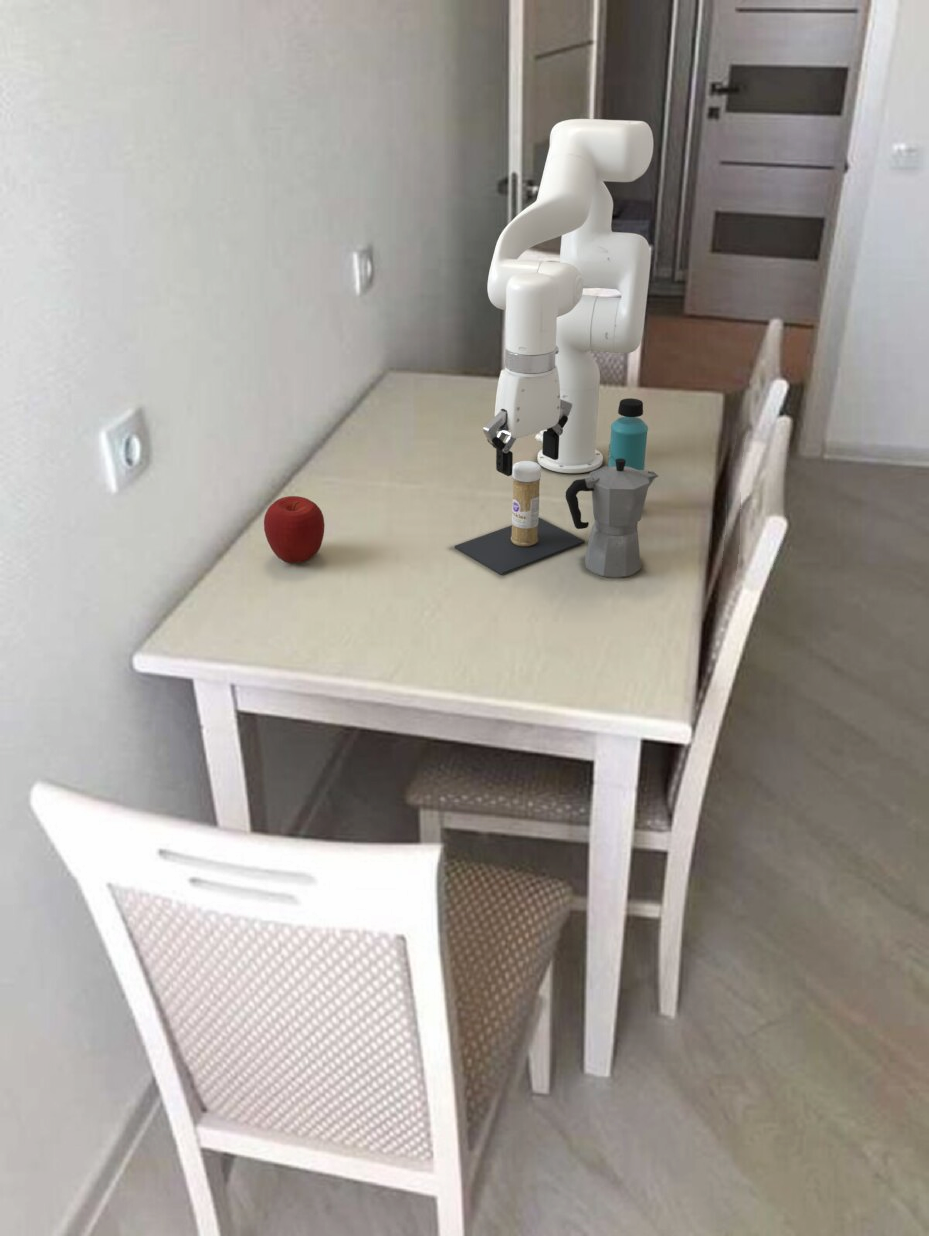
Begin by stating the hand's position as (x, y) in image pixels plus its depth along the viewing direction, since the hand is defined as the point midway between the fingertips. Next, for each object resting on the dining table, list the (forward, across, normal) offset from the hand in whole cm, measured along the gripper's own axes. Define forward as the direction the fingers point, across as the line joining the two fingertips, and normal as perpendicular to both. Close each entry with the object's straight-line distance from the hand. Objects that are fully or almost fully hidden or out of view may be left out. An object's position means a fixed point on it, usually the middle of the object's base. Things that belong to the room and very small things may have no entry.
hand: (527, 465), depth 168 cm
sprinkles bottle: (+14, +1, 0) cm, 14 cm away
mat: (+14, +2, 0) cm, 14 cm away
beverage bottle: (+14, -21, +1) cm, 26 cm away
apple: (+14, +33, -19) cm, 40 cm away
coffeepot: (+14, -4, +14) cm, 20 cm away
